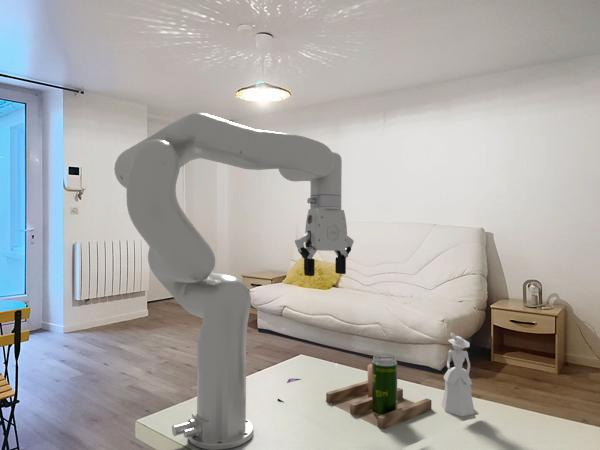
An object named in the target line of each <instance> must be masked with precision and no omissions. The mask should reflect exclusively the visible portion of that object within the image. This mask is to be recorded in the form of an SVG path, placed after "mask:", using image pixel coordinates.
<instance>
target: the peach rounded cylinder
mask: <svg viewBox="0 0 600 450" xmlns="http://www.w3.org/2000/svg"><path fill="white" fill-rule="evenodd" d="M367 381H368V397H372V363H370V364H367Z"/></svg>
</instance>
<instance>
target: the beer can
mask: <svg viewBox="0 0 600 450" xmlns="http://www.w3.org/2000/svg"><path fill="white" fill-rule="evenodd" d="M371 364H372V410H373V413H374V415H376V416H381V415H383V414H386V413H389V412H391V411H394V410H397V388H398V362H397V357H396V356H394V355H389V354H376V355H373V357H372V361H371Z"/></svg>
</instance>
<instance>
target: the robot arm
mask: <svg viewBox="0 0 600 450" xmlns="http://www.w3.org/2000/svg"><path fill="white" fill-rule="evenodd" d="M197 159H201V160H202V159H204V160H207V161H212V162H216V163H220V164H224V165H229V166H233V167H236V168H239V169H244V170H251V171H252V170H253V171H262V170H276V169H277V170H278V171H279V174H280V175H281V176H282V178H284V179H285V180H287V181H290V182H310V197H308V198H307V199H306V200H307V204H309V205H310V206H309V209H308V211H307V215H306V221H305V231H304V232H305V233H304V234H302V235H300V236H299V237H297V238H296V239H295V240H294V243H295V246H296V247H297V248H296V249H297V251H298V253H299V254H300V256H301V258H302V259H303V271H304V272H303V274H304V276H309V277H315V275H316V274H315V270H316V269H315V258H313V257H314V256H315V254H316V253H317V251H319V252H321V251H324V252H326V251H327V252H330V251H332V252H334V253H335V255H336V256H337V257H335V260H334V261H335V262H334V263H335V274H339V275H346V272H347V269H346V268H347V258H349V254H350V253H351V251H352V247H353V245H354V242H355V240H354V239H353V238H351V237H350V236H348V226H347V219H346V213H345V210H344V209H342V174H343V173H342V169H343V168H342V165H343V164H342V163H343V162H342V157H341V155H340V154H339V153H338V152H334V151H332V150H331V148H329V146H327V145H326V144H325V143H323V142H320V141H319V140H314V139H312V138H309V137H306V136H303V135H298V134H291V133H286V132H275V131H271V130H270V131H269V130H261V129H256V128H255V129H254V128H252V127H248V126H246V125H242V124H239V123H235V122H232V121H230V120H227V119H224V118H221V117H218V116H215V115H211V114H209V113H205V112H193V113H189V114H187V115H185V116H182V117H181V118H178V119H177V120H175V121H173V122H171V123H170V124H168V125H166V126H165V127H163V128H162V129H160V130H158V131H156V133H154V134H151V135H150V136H148V137H146V138H145V139H143V140H142V141H140V142H138V143H136V144H135V145H134V144H133V146H131V147H129V148H127V149H126V150H123V152H121V153H120V154H119V155H118V156H117V158H116V161H115V163H114V175H115V178H116V180H117V181H118V183H119V184H120V185H121V186H122V187H123V188H125V189H126V206H127V212H128V215H129V218H130V221H131V222H132V224H133V226H134V228H135V229H136V230H137V232H138V233H139V235H140V236H141V237H142V238H143V240H144V241H145V243H146V244H147V245H148V247H149V248H148V253H147V261H148V266H149V269H150V270H151V272H152V274H153V275H154V276H155V277H156V279H157V280H158V281H159V283H160V284H161V285H162V286H163V287H164V288H165V289H166V290H167V291H168V293H169V294H170V295H171V296H172V297H173V299H174V300H176V302H177V303H178V304H179V305H180V306H181V307H182V309H184V311H186V312H187V313H189V314H191V315H193V316H195V317H198V318H201V319H202V323H201V328H200V330H199V333H198V338H197V350H196V352H197V353H196V354H197V355H196V356H197V361H196V362H197V366H196V367H197V371H196V372H197V373H196V375H197V376H196V377H197V379H196V380H197V381H196V382H197V383H196V412H192V413H191V418H189V419H188V420H187V421H185V422H179V423H176V424H173V425H171V432H172V435H173V437H176V436H179V435H183V437H184V439H186V438H188V441H189V442H190V443H191V444H192V445H193V446H195V447H196V448H200V449H204V450H229V449H233V448H237V447H240V446H241V445H243V444H245V443H247V442H248V441H250V440H251V439H252V437H253V435H254V425H253V423H252V422H251V421H250V420H249V419H247V417H246V416H247V415H246V413H247V408H246V407H247V402H246V401H247V400H246V399H247V395H246V394H247V332H248V331H247V330H248V323H249V316H250V313H251V306H252V295H251V292H250V290H249V287H248V286H247V284H246V283H245V282H244V281H242V279H240V278H238V277H236V276H233V275H229V274H225V273H219V272H218V273H217V272H216V273H215V272H214V269H215V266H216V256H215V254H214V251H213V249H212V248H211V246H210V244H209V243H208V242H207V241H206V239H205V238H204V237H203V236H202V235H201V233H200V232H199V231H198V229H197V228H196V227H195V226H194V224H193V223H192V221H191V220H190V219H189V217H187V215H186V213H185V212H184V210H183V208H182V207H181V205H180V203H179V200H178V198H177V192H176V191H177V181H178V178H179V174H180V170H181V168H182V167H183V166H185V165H187V164H188V163H189V162H190V161H193V160H197Z"/></svg>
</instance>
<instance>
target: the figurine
mask: <svg viewBox="0 0 600 450" xmlns="http://www.w3.org/2000/svg"><path fill="white" fill-rule="evenodd" d="M447 342H449V343H450V344H451V346H452V347H453V349H449V350H448V351H447V357H446V358H447V360H446V368H447V371H446V372H445V374H444V375H443V380H444V391H443V392H444V393H443V397H442V401H441V404H440V405H441V407H442V409H443V411H444V412H445V413H447V414H453V415H455V416H456V415H457V416H460V417H464V416H465V417H466V416H470V415H472V416H470V417H467V418H466V419H464V420H463V422H464V421H467V420H473V419H476V413H475V408H474V407H475V406H474V402H473V393H472V387H471V386H472V384H473V382H472V380H471V378H470V370H471V361H470V358H469V353H468V351H467V350H463V349H465V348H470V342H469V341H467V340H466V339H464V337H462V336H459V335H456V334H455V333H454V332H450V339H448V340H447ZM451 359H452V362H453V365H454V366H453V367H450V366H451V365H450V363H451ZM465 360H466V363H467V367H466V369H465V368H464V367H463V364H464V362H465ZM474 414H475V415H474Z"/></svg>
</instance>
